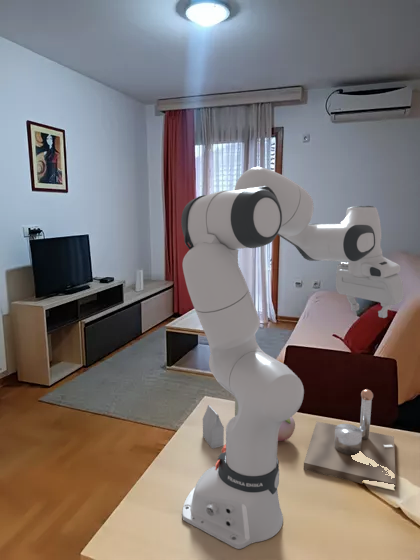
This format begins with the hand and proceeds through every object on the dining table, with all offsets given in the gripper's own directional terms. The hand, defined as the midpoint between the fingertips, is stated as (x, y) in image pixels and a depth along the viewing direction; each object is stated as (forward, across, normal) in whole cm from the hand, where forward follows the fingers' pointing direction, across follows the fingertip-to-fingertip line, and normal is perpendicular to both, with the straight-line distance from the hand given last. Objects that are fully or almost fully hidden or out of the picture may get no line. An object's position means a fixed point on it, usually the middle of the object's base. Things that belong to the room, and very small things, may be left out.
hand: (368, 313), depth 113 cm
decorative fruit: (+35, -12, -26) cm, 45 cm away
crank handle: (+35, +2, -11) cm, 37 cm away
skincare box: (+34, -28, -28) cm, 52 cm away
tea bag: (+32, -22, -44) cm, 58 cm away
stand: (+37, +3, -14) cm, 40 cm away
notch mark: (+37, +8, -4) cm, 38 cm away
